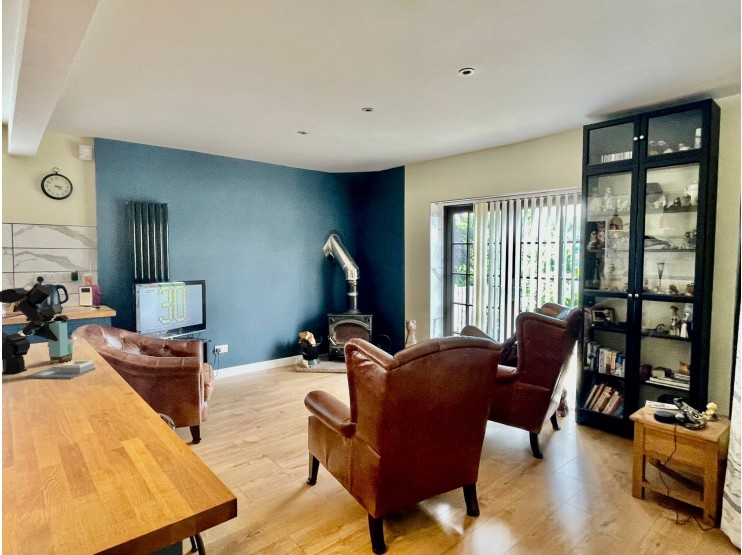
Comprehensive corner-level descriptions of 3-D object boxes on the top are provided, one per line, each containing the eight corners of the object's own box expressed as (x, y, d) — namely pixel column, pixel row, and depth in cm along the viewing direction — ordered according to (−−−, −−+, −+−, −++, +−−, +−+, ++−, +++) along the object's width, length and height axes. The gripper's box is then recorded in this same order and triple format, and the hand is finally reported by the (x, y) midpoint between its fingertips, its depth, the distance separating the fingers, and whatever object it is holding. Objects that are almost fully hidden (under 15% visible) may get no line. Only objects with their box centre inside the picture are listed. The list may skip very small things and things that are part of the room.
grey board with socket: (25, 378, 170) (25, 368, 170) (53, 368, 184) (53, 359, 184) (71, 378, 169) (70, 368, 169) (95, 369, 183) (94, 359, 183)
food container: (62, 365, 190) (61, 342, 189) (48, 365, 190) (47, 342, 189) (81, 358, 202) (80, 336, 202) (68, 358, 202) (67, 336, 202)
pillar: (49, 356, 176) (47, 322, 175) (57, 354, 180) (55, 320, 179) (60, 356, 176) (59, 322, 175) (68, 354, 180) (66, 320, 179)
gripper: (28, 300, 167) (58, 329, 168) (63, 295, 186) (90, 321, 186) (8, 321, 168) (38, 349, 168) (45, 314, 186) (72, 340, 187)
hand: (61, 339), depth 178 cm, fingers closed on pillar, 4 cm apart
